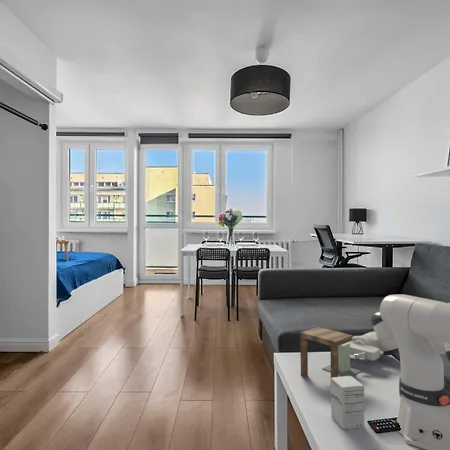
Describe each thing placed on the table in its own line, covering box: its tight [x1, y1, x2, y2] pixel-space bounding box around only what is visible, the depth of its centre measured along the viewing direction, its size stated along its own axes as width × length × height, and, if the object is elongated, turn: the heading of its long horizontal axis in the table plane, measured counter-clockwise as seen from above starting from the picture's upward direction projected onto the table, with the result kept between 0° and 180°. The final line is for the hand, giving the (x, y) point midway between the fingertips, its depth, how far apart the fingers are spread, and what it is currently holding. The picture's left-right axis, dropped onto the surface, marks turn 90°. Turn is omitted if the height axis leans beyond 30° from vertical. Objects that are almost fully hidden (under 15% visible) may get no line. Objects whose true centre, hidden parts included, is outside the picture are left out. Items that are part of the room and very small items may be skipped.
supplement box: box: [330, 376, 365, 430], centre depth 109 cm, size 7×7×13 cm
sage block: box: [338, 343, 351, 373], centre depth 148 cm, size 5×5×11 cm
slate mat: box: [321, 364, 362, 377], centre depth 148 cm, size 12×10×1 cm
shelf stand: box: [299, 326, 353, 379], centre depth 141 cm, size 16×12×18 cm
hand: (346, 353), depth 151 cm, fingers open, 8 cm apart
